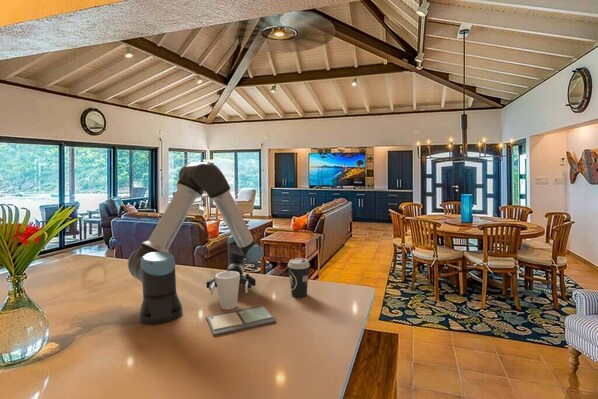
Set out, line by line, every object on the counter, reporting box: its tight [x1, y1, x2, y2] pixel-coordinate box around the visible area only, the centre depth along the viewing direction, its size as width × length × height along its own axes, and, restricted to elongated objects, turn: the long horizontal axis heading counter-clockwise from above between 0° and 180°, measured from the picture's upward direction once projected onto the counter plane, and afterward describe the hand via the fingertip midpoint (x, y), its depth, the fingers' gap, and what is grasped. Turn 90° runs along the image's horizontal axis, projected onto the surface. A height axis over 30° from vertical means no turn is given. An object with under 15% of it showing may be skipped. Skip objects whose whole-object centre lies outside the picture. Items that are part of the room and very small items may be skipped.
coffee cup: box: [287, 257, 311, 299], centre depth 147 cm, size 10×10×15 cm
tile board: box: [205, 304, 277, 337], centre depth 125 cm, size 22×15×1 cm
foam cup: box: [214, 270, 240, 310], centre depth 137 cm, size 10×9×13 cm
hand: (228, 290), depth 136 cm, fingers open, 13 cm apart
